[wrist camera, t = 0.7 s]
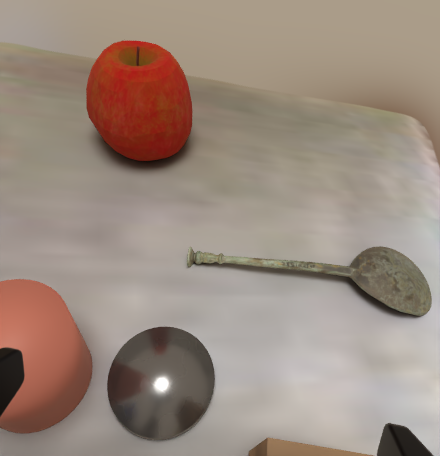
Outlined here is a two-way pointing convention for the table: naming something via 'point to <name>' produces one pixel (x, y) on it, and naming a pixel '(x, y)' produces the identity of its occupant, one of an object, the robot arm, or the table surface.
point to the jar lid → (161, 383)
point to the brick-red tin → (42, 355)
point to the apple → (140, 100)
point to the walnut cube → (296, 449)
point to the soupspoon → (356, 275)
